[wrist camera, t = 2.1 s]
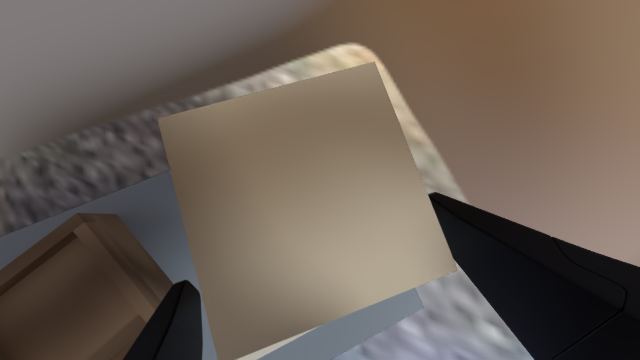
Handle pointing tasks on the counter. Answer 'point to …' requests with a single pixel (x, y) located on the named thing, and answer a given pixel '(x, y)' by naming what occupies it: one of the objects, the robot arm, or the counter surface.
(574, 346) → the robot arm
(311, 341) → the board
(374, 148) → the beech column
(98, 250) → the walnut block
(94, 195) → the counter surface
